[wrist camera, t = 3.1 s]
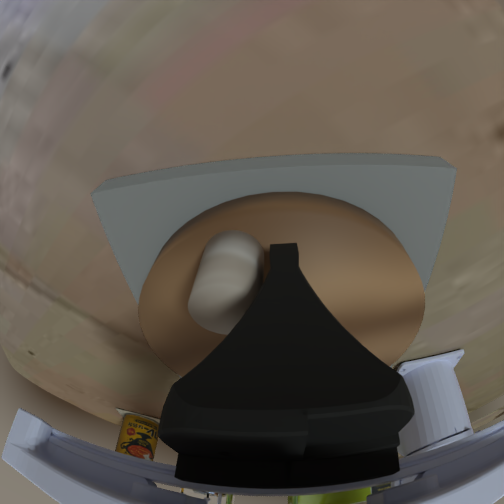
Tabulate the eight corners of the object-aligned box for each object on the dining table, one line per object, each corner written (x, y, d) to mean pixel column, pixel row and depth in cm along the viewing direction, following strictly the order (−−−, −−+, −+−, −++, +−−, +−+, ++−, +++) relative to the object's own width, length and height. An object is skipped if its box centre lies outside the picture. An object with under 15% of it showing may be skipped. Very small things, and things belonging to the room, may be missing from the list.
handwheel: (408, 352, 19) (424, 407, 15) (222, 391, 23) (215, 441, 19) (401, 148, 10) (466, 201, 6) (99, 252, 14) (55, 317, 10)
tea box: (287, 444, 40) (285, 520, 28) (295, 428, 34) (295, 522, 22) (369, 438, 39) (375, 509, 27) (392, 419, 33) (403, 504, 21)
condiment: (159, 417, 35) (144, 488, 25) (168, 433, 40) (157, 492, 30) (115, 406, 35) (97, 472, 25) (129, 423, 40) (115, 480, 30)
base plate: (384, 358, 22) (387, 373, 21) (186, 367, 24) (183, 382, 23) (440, 157, 12) (456, 168, 10) (105, 180, 14) (90, 193, 12)
